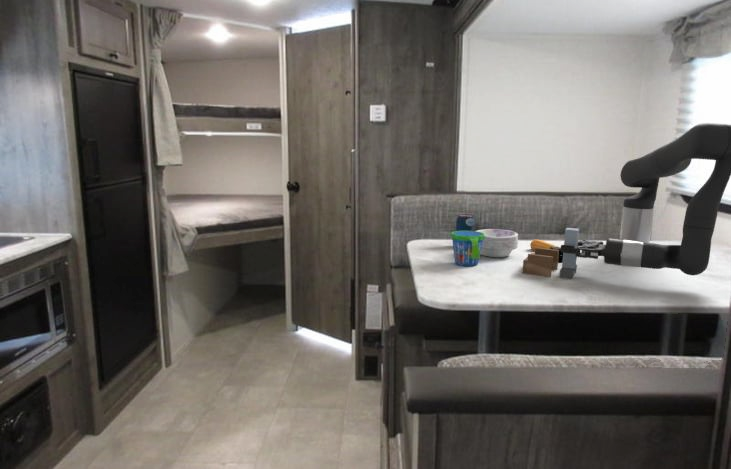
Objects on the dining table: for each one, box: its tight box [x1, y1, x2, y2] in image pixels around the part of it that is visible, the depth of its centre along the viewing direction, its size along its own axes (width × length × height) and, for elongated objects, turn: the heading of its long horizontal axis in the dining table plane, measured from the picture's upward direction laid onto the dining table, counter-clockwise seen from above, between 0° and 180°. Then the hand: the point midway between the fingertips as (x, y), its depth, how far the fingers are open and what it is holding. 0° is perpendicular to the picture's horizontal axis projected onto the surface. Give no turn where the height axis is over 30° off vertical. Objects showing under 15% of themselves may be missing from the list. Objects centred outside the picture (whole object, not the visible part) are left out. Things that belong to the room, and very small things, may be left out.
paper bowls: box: [476, 228, 519, 258], centre depth 178 cm, size 15×15×8 cm
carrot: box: [530, 239, 587, 259], centre depth 181 cm, size 20×4×4 cm, turn 51°
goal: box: [522, 247, 559, 278], centre depth 157 cm, size 11×8×6 cm
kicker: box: [559, 227, 580, 280], centre depth 152 cm, size 9×3×14 cm, turn 150°
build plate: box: [550, 246, 563, 264], centre depth 172 cm, size 12×7×5 cm, turn 6°
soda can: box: [455, 213, 476, 231], centre depth 189 cm, size 7×7×12 cm
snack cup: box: [450, 230, 485, 267], centre depth 164 cm, size 16×10×10 cm
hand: (563, 245), depth 153 cm, fingers open, 7 cm apart
